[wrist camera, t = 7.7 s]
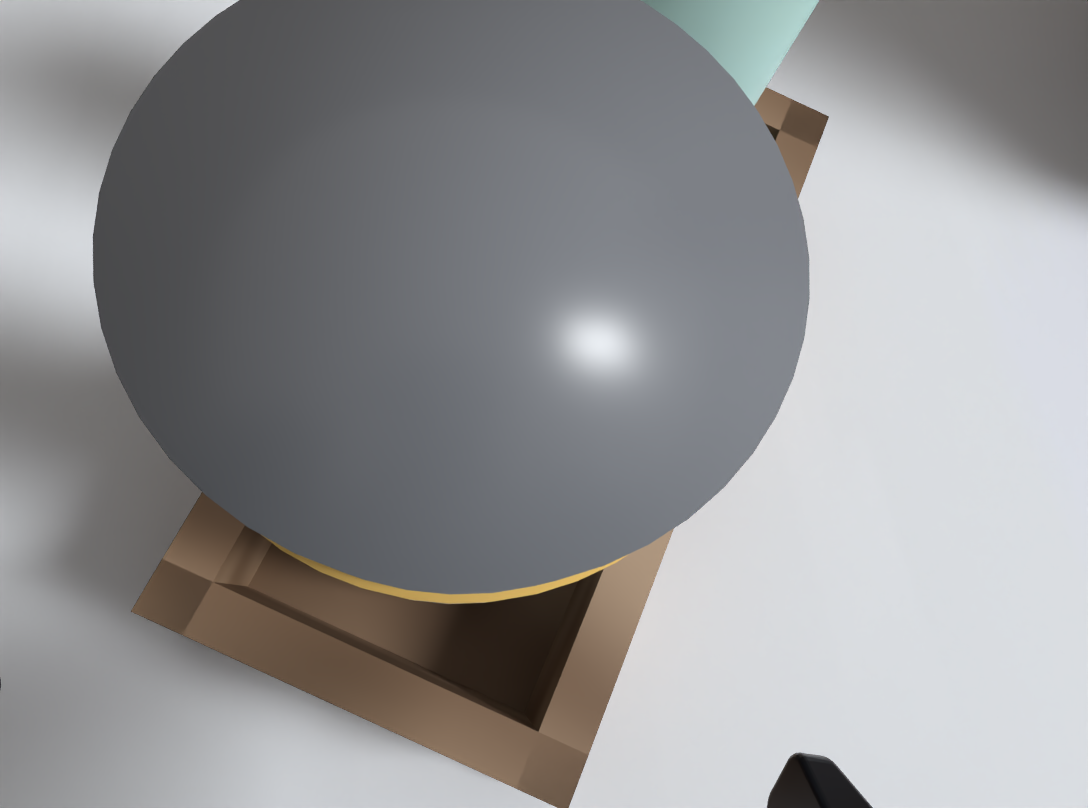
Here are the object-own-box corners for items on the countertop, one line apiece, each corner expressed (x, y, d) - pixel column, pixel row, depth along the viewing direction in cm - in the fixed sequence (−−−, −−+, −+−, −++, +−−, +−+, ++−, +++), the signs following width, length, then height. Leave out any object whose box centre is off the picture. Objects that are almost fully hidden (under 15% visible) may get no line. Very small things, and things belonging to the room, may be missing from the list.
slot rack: (547, 786, 16) (574, 832, 13) (178, 616, 16) (109, 618, 13) (778, 191, 21) (841, 113, 18) (499, 61, 21) (509, -42, 18)
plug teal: (629, 331, 18) (1015, -253, 6) (482, 262, 18) (559, -465, 6) (685, 203, 20) (1100, -500, 7) (546, 139, 20) (724, -679, 7)
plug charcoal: (550, 596, 16) (884, 560, 4) (363, 615, 16) (51, 645, 3) (532, 419, 17) (752, -52, 5) (356, 431, 17) (104, -74, 4)
